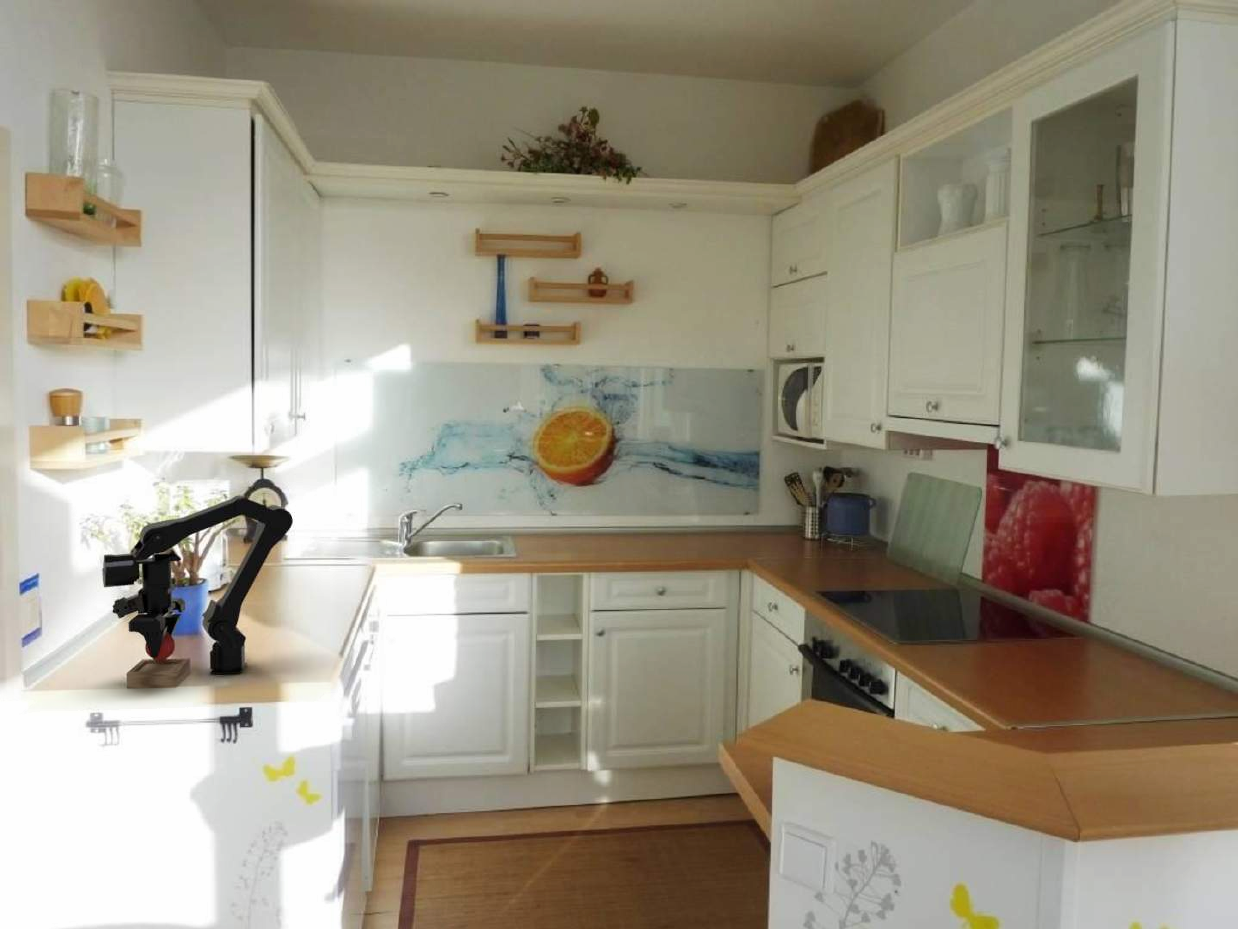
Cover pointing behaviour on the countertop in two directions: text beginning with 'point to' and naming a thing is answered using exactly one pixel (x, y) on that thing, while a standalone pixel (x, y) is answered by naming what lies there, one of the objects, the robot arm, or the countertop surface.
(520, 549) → the countertop surface
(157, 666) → the brown wooden tray
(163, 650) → the onion
